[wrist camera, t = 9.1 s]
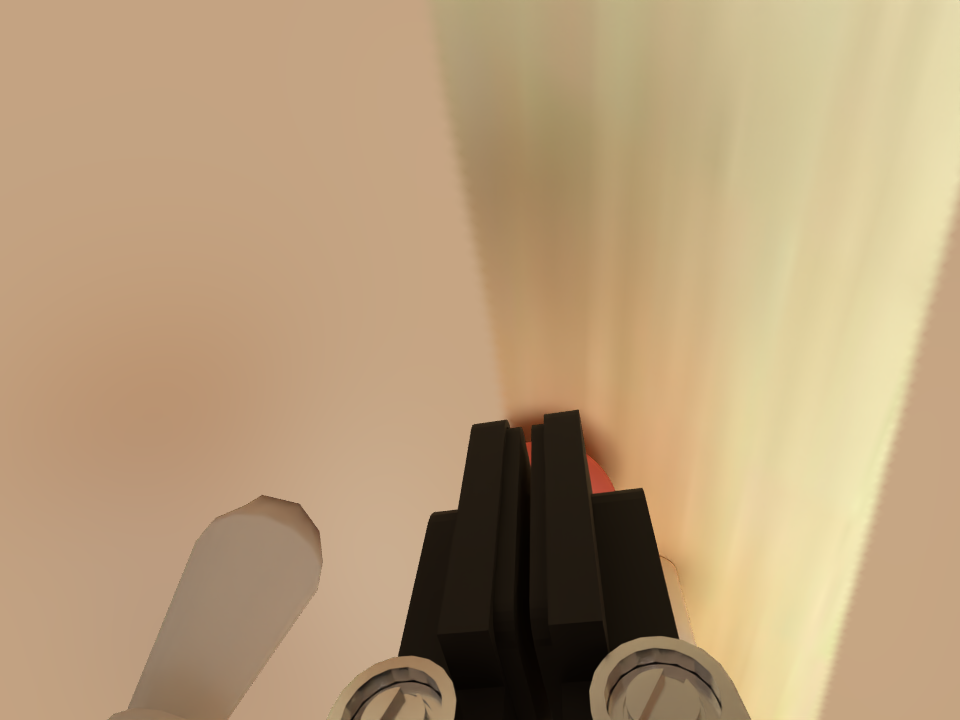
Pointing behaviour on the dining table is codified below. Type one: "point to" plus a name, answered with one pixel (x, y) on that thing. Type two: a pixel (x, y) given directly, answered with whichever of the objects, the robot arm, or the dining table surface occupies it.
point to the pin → (677, 602)
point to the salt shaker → (229, 612)
